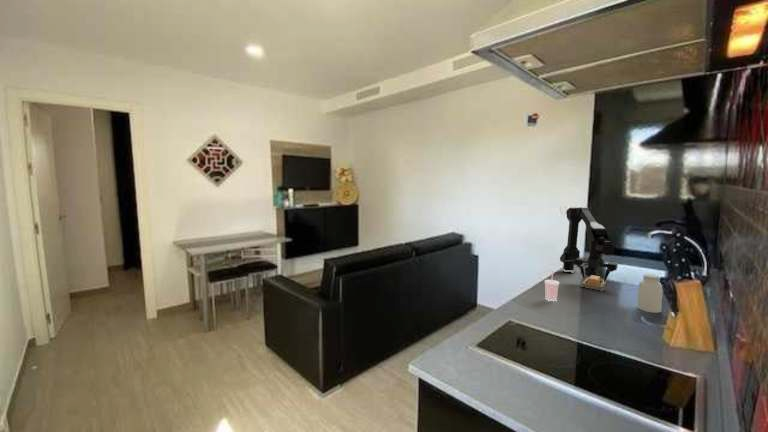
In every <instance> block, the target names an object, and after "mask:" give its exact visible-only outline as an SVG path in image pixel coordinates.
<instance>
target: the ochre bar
mask: <svg viewBox="0 0 768 432" xmlns="http://www.w3.org/2000/svg"><path fill="white" fill-rule="evenodd" d="M588 278H589V281H588V284H592V285H599V284H600V280H601V276H599V275H594V274H590V276H589V277H588Z"/></svg>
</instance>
